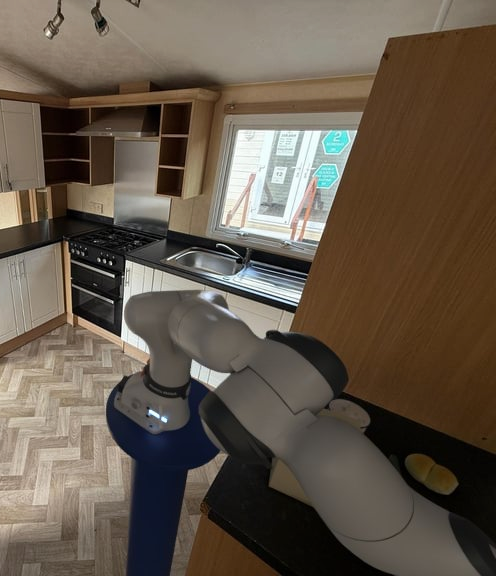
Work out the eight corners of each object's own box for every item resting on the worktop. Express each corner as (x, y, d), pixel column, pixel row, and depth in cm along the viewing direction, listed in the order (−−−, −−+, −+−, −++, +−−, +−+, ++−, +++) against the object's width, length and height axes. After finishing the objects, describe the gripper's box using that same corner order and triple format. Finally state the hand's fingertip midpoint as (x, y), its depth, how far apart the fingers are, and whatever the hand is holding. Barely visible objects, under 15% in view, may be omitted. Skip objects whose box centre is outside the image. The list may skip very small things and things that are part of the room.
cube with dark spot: (336, 465, 77) (360, 417, 70) (339, 519, 66) (369, 469, 59) (274, 440, 84) (290, 394, 76) (268, 486, 73) (286, 437, 65)
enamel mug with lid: (358, 457, 79) (375, 425, 74) (317, 438, 84) (330, 407, 79) (358, 425, 88) (374, 394, 83) (321, 410, 93) (333, 380, 88)
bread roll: (412, 454, 80) (419, 443, 78) (459, 485, 73) (467, 474, 71) (395, 467, 77) (402, 456, 75) (442, 501, 70) (451, 491, 68)
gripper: (377, 579, 55) (368, 507, 66) (551, 670, 46) (507, 568, 57) (391, 561, 52) (379, 489, 63) (579, 654, 43) (527, 550, 54)
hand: (440, 527), depth 60 cm, fingers closed
